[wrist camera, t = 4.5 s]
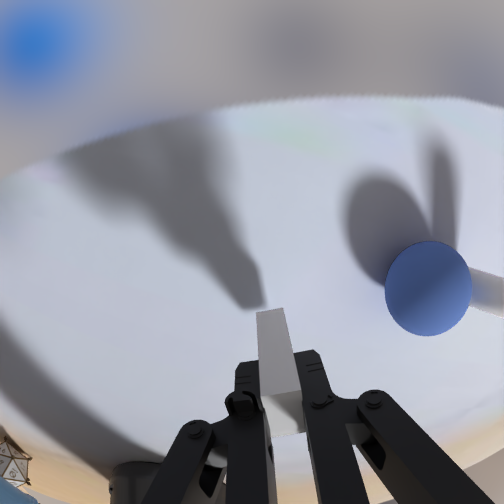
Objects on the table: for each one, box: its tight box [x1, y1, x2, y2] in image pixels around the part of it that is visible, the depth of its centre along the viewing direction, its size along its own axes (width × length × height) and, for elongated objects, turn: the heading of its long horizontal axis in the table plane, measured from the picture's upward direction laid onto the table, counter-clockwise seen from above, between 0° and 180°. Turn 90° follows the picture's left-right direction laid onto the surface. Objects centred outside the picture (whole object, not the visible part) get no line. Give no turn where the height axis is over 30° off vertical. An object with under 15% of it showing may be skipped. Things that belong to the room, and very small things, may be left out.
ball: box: [385, 241, 472, 336], centre depth 15 cm, size 6×6×6 cm
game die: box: [0, 436, 32, 488], centre depth 22 cm, size 9×8×10 cm
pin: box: [468, 267, 504, 319], centre depth 14 cm, size 2×2×8 cm
